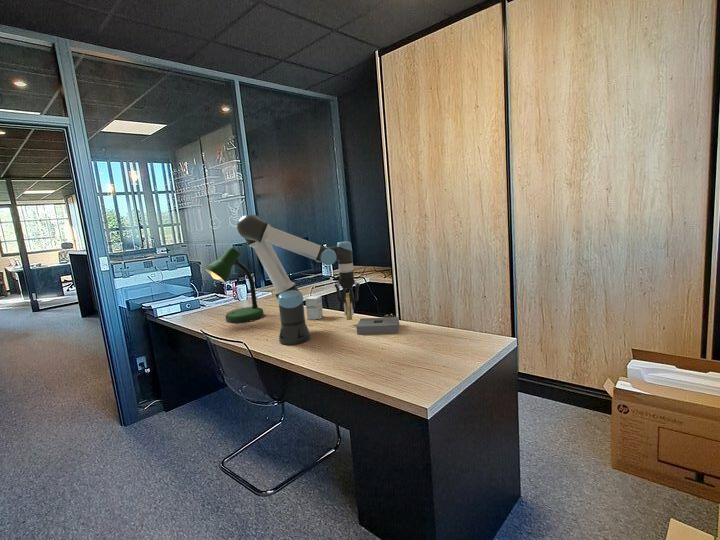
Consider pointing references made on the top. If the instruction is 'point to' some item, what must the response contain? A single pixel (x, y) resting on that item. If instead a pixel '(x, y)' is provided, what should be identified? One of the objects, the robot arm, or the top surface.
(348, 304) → the brass pin
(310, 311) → the supplement box
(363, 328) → the bore block
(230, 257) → the desk lamp
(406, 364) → the top surface
